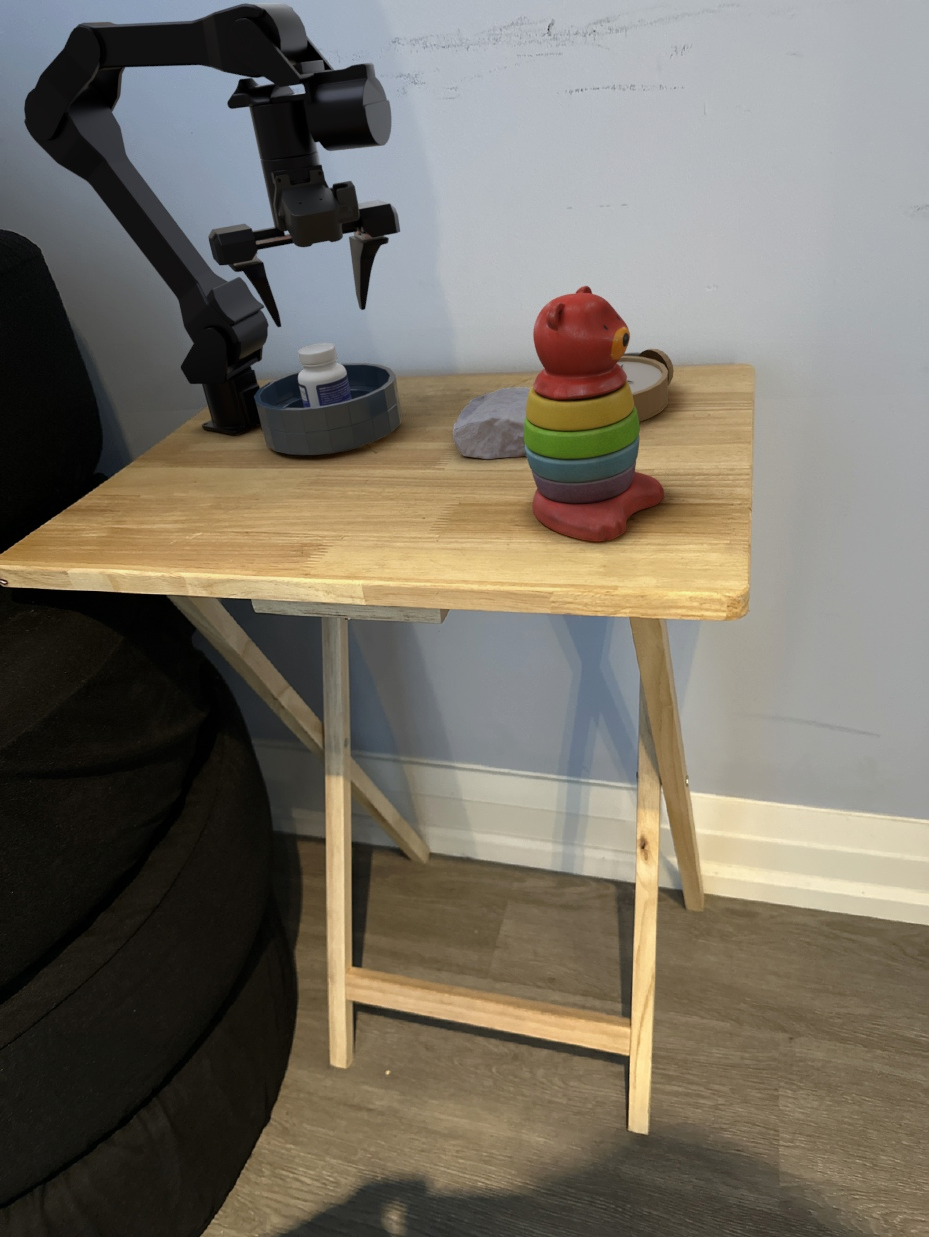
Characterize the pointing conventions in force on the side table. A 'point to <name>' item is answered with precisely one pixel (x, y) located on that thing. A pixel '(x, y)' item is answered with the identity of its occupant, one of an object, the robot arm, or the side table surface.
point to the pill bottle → (322, 376)
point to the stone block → (493, 425)
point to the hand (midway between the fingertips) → (321, 317)
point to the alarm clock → (648, 380)
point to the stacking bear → (584, 422)
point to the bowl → (330, 413)
